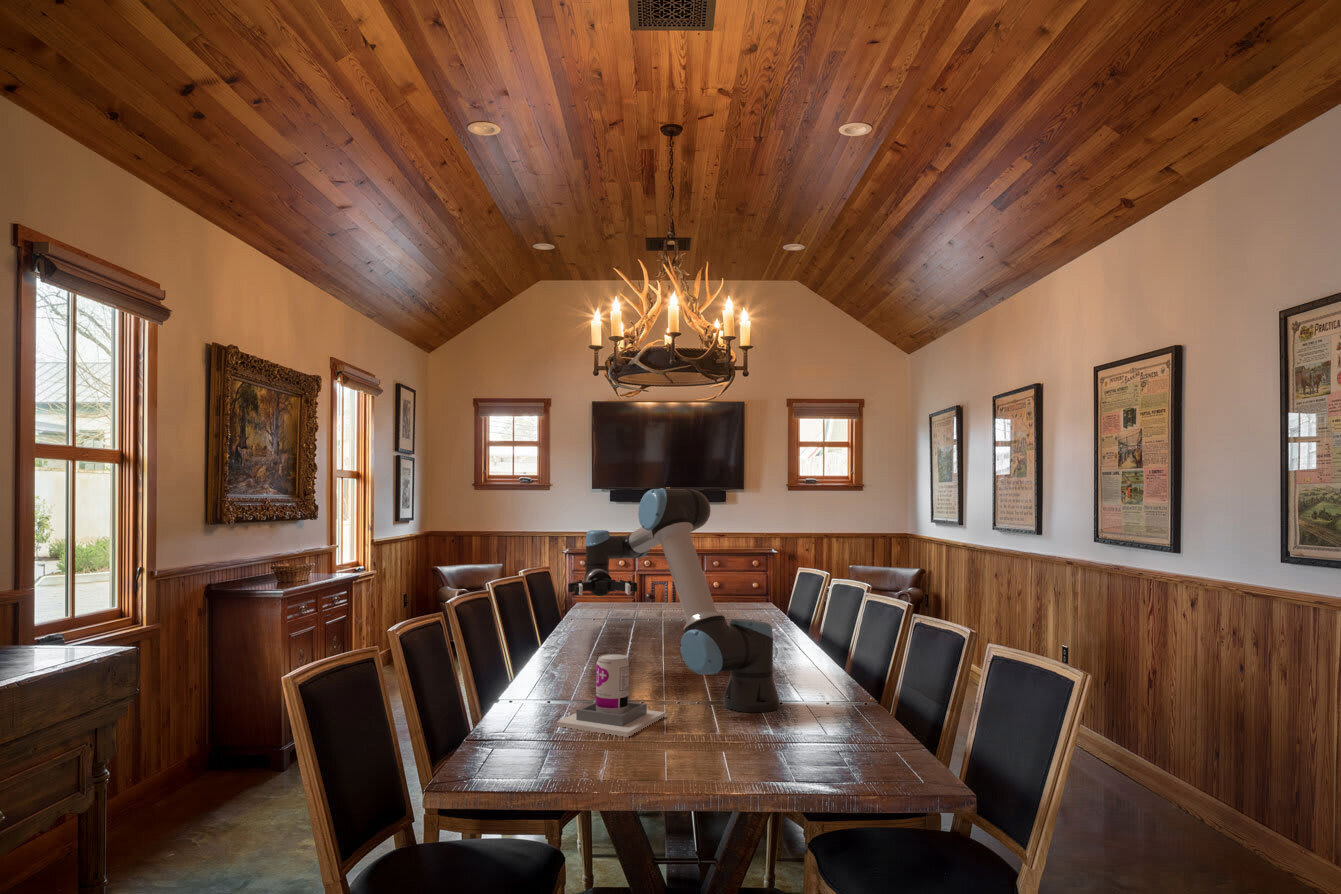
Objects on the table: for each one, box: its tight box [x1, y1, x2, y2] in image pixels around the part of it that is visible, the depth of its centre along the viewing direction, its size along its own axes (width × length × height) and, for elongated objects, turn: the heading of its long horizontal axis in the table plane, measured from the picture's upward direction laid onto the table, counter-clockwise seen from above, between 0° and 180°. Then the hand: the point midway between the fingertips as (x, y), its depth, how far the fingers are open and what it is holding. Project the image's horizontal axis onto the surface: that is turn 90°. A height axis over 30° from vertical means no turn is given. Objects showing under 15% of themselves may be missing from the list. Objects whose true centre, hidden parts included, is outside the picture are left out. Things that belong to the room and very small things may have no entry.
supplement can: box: [595, 653, 630, 715], centre depth 209 cm, size 8×8×15 cm
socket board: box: [556, 700, 666, 738], centre depth 209 cm, size 20×20×4 cm
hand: (605, 590), depth 235 cm, fingers open, 13 cm apart
